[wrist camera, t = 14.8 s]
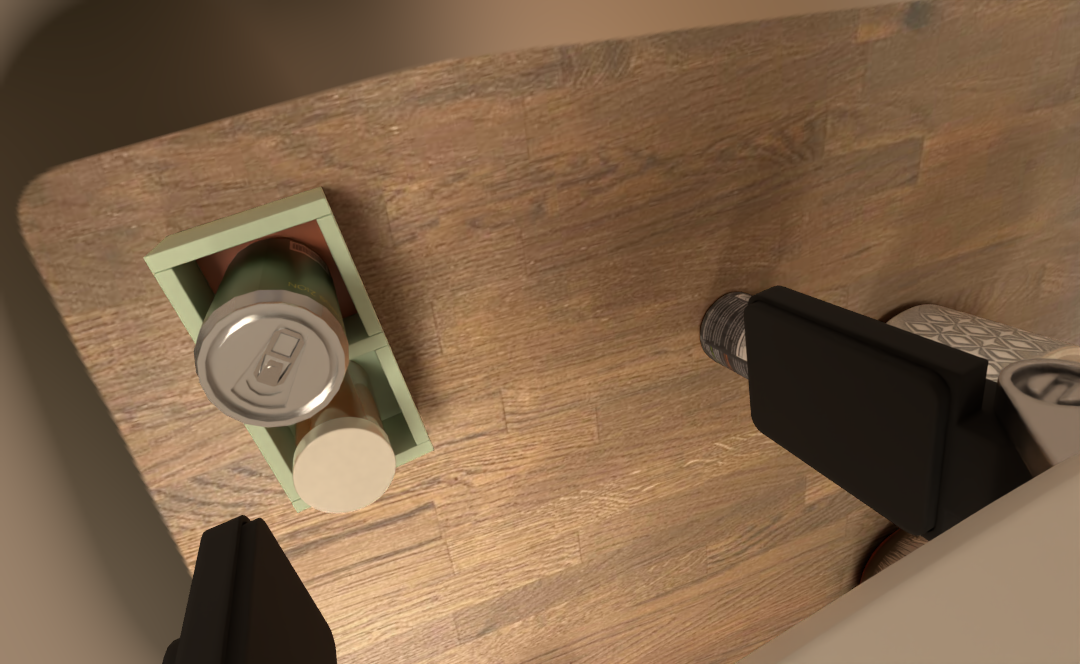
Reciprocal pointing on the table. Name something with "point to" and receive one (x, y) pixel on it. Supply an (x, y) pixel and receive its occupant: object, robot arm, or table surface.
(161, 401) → the table surface
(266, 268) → the guarana soda can
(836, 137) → the table surface
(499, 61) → the table surface
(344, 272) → the divided tray
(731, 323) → the pill bottle
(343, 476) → the spice jar
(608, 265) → the table surface
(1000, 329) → the planter
